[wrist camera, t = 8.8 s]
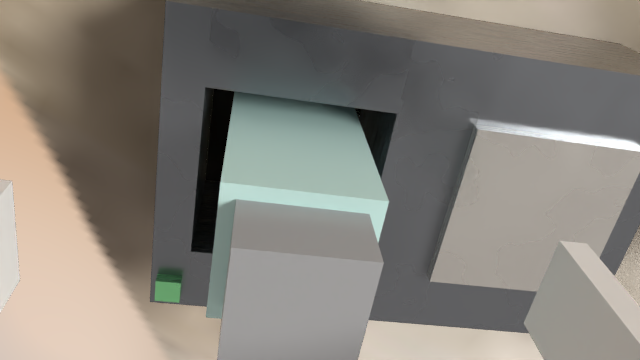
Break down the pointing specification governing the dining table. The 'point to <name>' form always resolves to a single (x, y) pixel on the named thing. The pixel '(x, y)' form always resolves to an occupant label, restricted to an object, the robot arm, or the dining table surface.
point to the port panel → (415, 144)
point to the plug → (295, 232)
